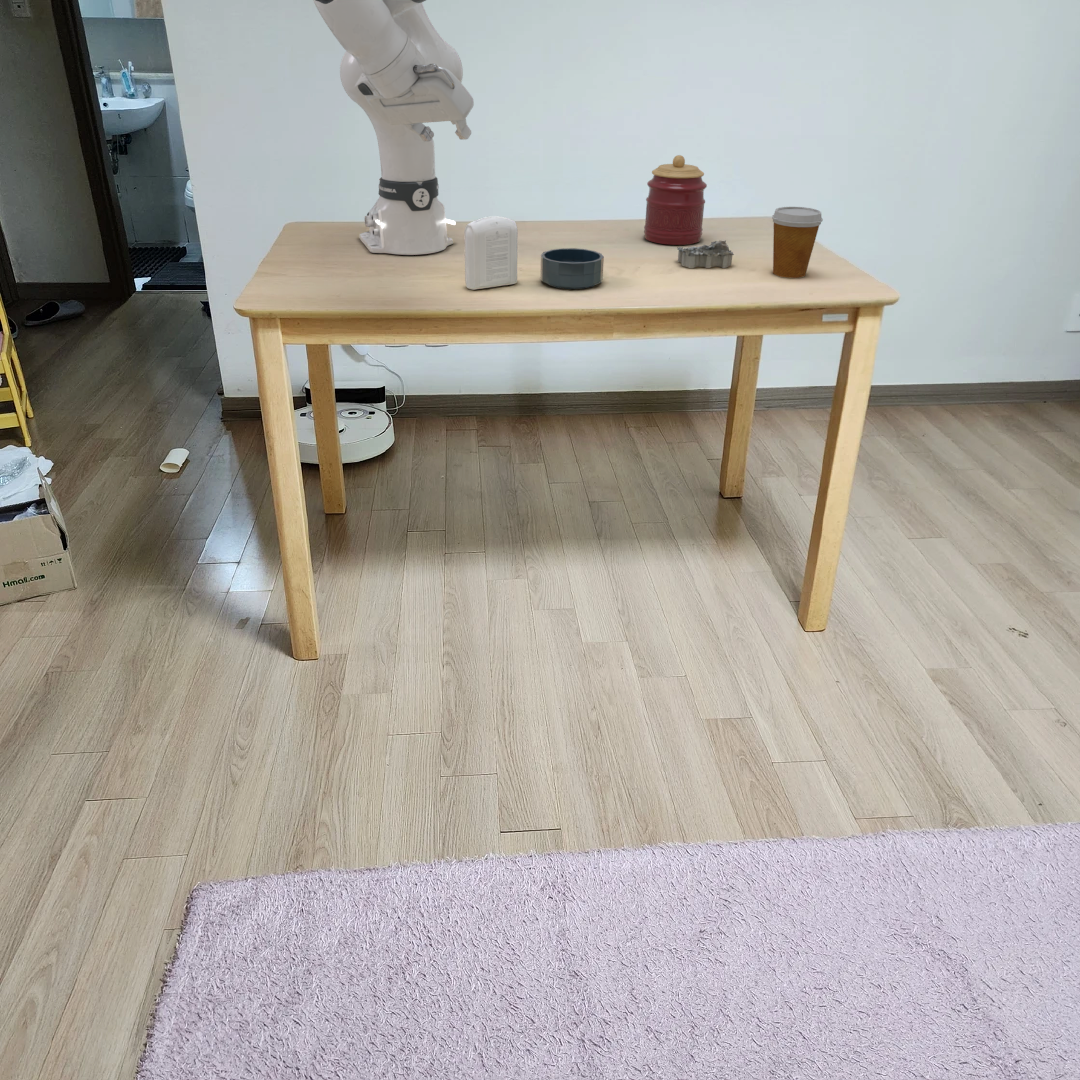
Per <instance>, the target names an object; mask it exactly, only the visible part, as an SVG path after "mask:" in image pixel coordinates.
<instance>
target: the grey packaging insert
mask: <svg viewBox="0 0 1080 1080" xmlns="http://www.w3.org/2000/svg"><path fill="white" fill-rule="evenodd" d="M676 249H677V251H678V253H677V262H678V263H679V264H680V263H681V266H683V267H685V268H689V269H695V268H696V267H699V268H701V267H702V268H706V269H711V268H712V267H718V268H722V269H725V268H728V267H731V266H732V261H733V256H734V255H735V254H734V252H733V251H732V250H730V248H729V245H728V243H727V240H718V241H717V240H714V241H711V242H710V244H702V245H701V246H690V247H689V246H688V247H686V248H683V246H682V247H681V246H677V247H676Z"/></svg>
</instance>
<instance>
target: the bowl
mask: <svg viewBox="0 0 1080 1080" xmlns="http://www.w3.org/2000/svg"><path fill="white" fill-rule="evenodd" d="M604 259H605V257H604V255H603V254H602V253H601V252H598V251H595V250H591V249H587V248H576V247H575V248H573V247H567V248H554V249H549V250H545V251H543V252H542V253H541V254H540V279H541V281H542V282H543V283H544V284H547V285H548V286H550V287H553V288H558V289H564V290H584V289H590V288H593V287H595V286H596V285H599V284H601V283H602V281H603V280H604V264H605V263H604V262H605V261H604Z"/></svg>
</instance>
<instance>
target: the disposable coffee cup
mask: <svg viewBox="0 0 1080 1080" xmlns="http://www.w3.org/2000/svg"><path fill="white" fill-rule="evenodd" d="M771 219H772V222H773V242H772V243H773V245H772V248H773V249H772V252H773V253H772V255H773V256H772V274H773V275H775V276H777V277H779V278H787V279H800V278H803V277H805V276H806V274H807V271H808V267H809V263H810V260H811V257H812V253H813V249H814V246H815V243H816V240H817V239H816V238H817V235H818V232H819V229H820V228H819V227H820V226H821V224H822V222H823V220H824V219H823V218H822V211H821V210H819V209H815V208H812V207H805V206H781V207H777V208H776V209H775V210H774V213H773V215H771Z"/></svg>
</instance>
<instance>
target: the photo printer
mask: <svg viewBox="0 0 1080 1080" xmlns="http://www.w3.org/2000/svg"><path fill="white" fill-rule="evenodd" d="M518 232H519V231H518V225H517V223H516V221H515V220H514V219H512V218H508V217H506V216H498V215H491V216H490V215H489V216H484V217H481V218H477V219H474V220H473V221H470V222H468V223H467V224H466V225H465V227H464V281H465V286H466V288H467V289H469V290H471V291H472V290H473V291H474V290H481V289H488V288H495V287H501V286H508V285H516V284H517V282H518V243H519V242H518Z"/></svg>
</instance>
